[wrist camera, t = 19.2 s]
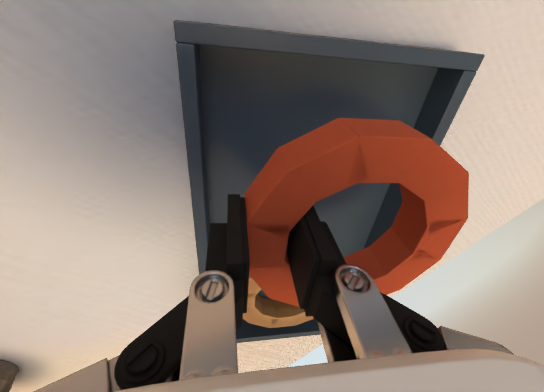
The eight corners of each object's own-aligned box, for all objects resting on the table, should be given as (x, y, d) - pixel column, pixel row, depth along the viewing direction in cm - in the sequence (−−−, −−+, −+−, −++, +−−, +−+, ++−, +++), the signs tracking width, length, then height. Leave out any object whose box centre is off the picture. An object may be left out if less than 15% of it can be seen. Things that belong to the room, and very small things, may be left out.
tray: (182, 20, 13) (173, 20, 11) (450, 50, 15) (485, 54, 13) (208, 321, 28) (206, 346, 26) (339, 310, 31) (348, 331, 29)
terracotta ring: (244, 113, 9) (248, 132, 8) (475, 123, 11) (519, 141, 9) (241, 283, 15) (242, 316, 13) (394, 274, 16) (413, 302, 15)
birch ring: (235, 247, 21) (235, 265, 20) (343, 242, 23) (352, 259, 21) (234, 313, 27) (234, 331, 25) (322, 305, 28) (327, 322, 27)
